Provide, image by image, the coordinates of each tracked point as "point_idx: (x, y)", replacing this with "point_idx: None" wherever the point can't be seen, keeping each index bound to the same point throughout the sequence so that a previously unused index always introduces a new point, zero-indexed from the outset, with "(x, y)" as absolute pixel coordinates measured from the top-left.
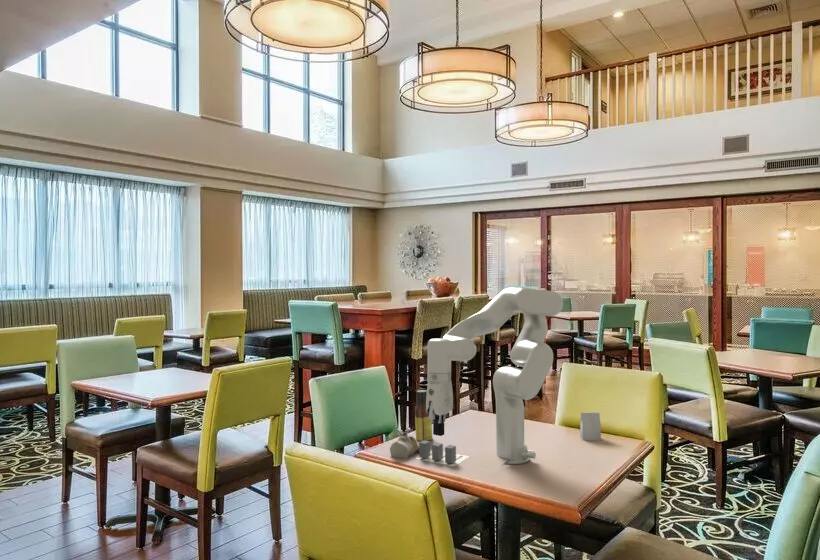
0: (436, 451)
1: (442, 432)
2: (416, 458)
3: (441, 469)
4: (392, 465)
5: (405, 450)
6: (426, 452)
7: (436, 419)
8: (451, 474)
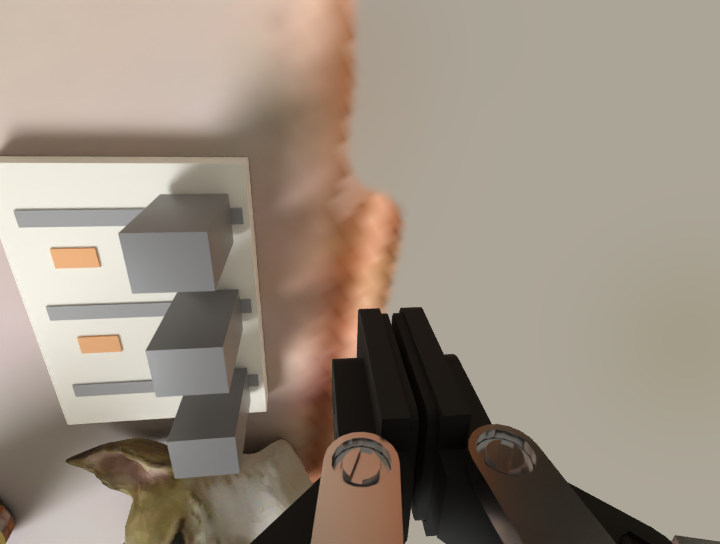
0: (231, 334)
1: (411, 324)
2: (261, 406)
3: (270, 237)
4: None
5: (287, 480)
6: (229, 391)
7: (633, 523)
8: (311, 141)
